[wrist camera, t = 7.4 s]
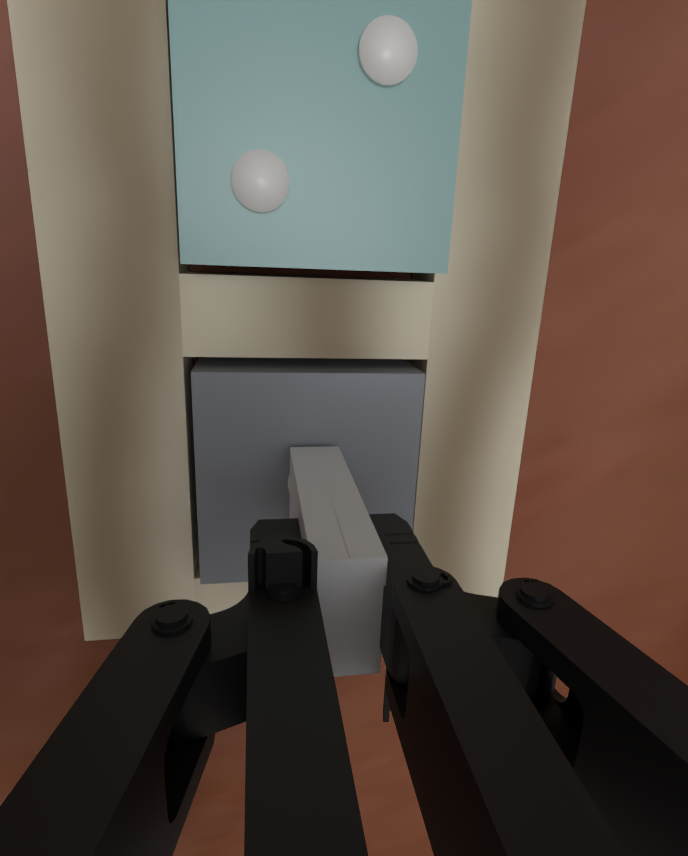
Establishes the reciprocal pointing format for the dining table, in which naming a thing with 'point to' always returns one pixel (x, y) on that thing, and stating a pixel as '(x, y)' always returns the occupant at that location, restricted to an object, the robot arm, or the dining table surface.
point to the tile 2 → (317, 131)
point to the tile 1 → (296, 441)
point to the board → (273, 295)
